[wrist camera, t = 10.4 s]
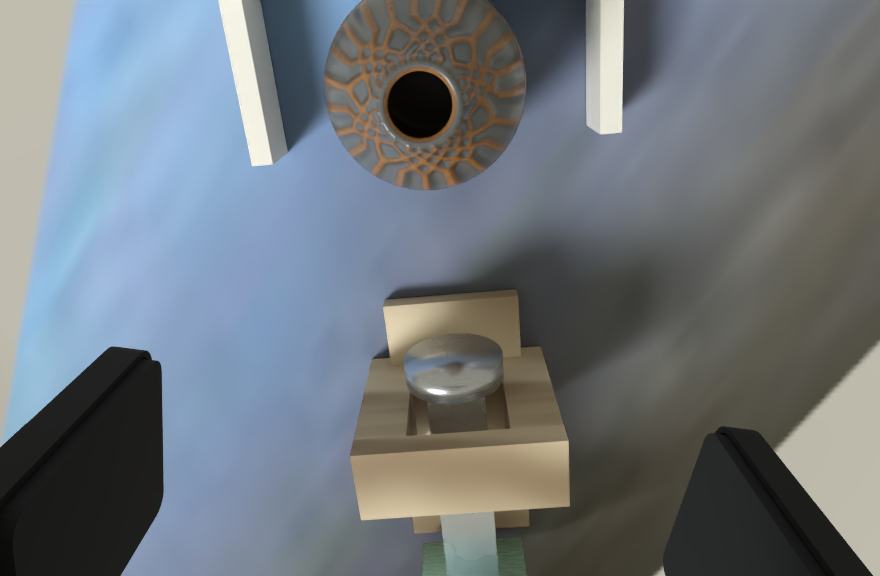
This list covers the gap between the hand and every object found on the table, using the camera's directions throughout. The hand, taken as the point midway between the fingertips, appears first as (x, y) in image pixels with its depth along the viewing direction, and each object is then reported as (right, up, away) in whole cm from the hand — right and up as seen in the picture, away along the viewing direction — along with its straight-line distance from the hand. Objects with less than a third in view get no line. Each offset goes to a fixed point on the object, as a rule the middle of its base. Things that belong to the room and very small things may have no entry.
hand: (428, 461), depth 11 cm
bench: (+1, -3, +21) cm, 21 cm away
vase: (0, +11, +15) cm, 19 cm away
